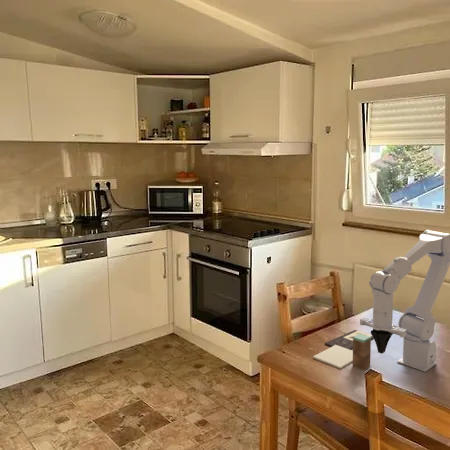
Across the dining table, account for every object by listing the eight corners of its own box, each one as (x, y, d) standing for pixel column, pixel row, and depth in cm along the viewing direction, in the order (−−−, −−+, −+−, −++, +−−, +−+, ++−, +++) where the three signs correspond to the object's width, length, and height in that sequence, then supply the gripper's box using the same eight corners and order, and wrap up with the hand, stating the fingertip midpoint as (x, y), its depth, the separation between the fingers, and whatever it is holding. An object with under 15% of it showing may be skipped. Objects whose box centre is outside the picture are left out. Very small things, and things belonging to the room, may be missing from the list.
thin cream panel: (362, 356, 155) (362, 354, 155) (340, 368, 147) (340, 367, 147) (335, 346, 164) (335, 344, 164) (313, 358, 155) (313, 356, 155)
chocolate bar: (324, 343, 166) (355, 329, 176) (324, 345, 166) (354, 332, 177) (345, 351, 159) (375, 336, 169) (345, 353, 159) (375, 339, 170)
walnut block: (370, 365, 148) (370, 336, 147) (363, 370, 146) (364, 340, 144) (359, 361, 151) (359, 333, 150) (352, 365, 149) (353, 336, 147)
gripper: (354, 308, 143) (354, 349, 145) (398, 320, 132) (397, 363, 134) (367, 302, 147) (366, 342, 150) (410, 313, 137) (408, 356, 139)
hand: (381, 352), depth 142 cm, fingers closed
